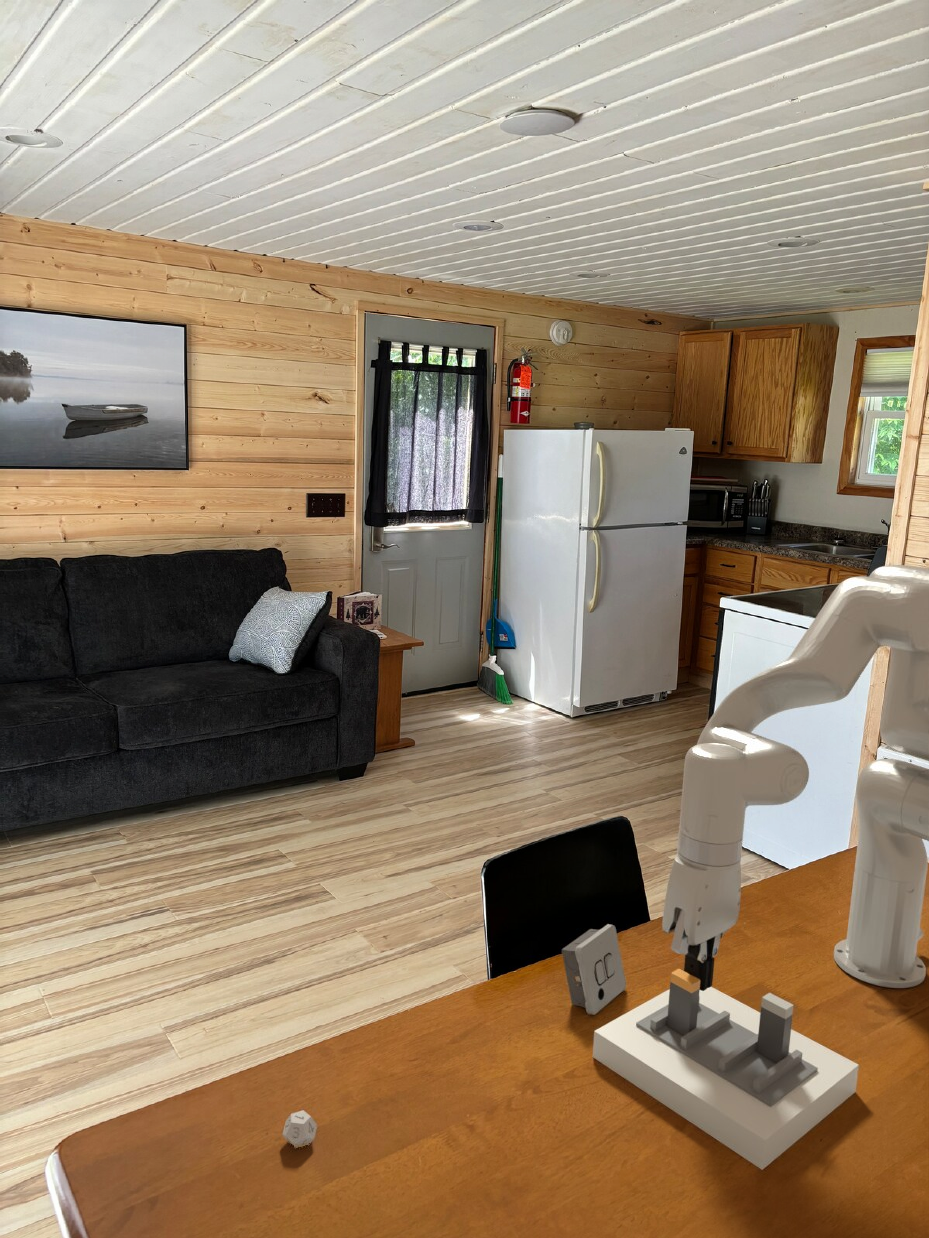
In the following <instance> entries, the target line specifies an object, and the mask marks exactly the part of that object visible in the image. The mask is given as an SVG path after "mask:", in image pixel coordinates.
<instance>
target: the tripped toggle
mask: <svg viewBox="0 0 929 1238" xmlns="http://www.w3.org/2000/svg"><path fill="white" fill-rule="evenodd" d="M669 981H670V982H669V989H670V992H669V1005H668V1018H667V1026H668V1027H670V1028H672V1029H674V1030H675V1031H677V1032H679V1033H680V1034H682V1035H686V1034H687V1033H689V1032H691V1031H692V1030H694V1029H695V1028H696V1026H697V1014H698V1003H699V991H700V979H698V978H696V977H694V976H692V975H690V974H688V973H687V972H685V971H684V969H681V968H676V969H675V970H673V971H672V972H670V980H669Z"/></svg>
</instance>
